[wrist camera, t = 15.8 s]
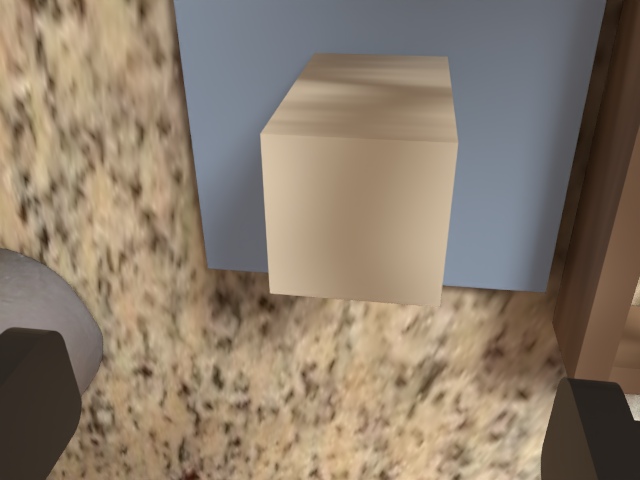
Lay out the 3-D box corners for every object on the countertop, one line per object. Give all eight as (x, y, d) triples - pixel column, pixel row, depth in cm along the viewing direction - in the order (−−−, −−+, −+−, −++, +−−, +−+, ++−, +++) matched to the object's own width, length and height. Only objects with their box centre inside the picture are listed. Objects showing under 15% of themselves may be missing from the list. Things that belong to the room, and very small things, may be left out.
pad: (214, 256, 27) (207, 268, 26) (171, -106, 20) (160, -105, 19) (541, 278, 25) (545, 292, 24) (620, -113, 18) (629, -113, 17)
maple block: (316, 173, 23) (270, 293, 16) (314, 52, 21) (260, 133, 14) (435, 179, 23) (440, 307, 16) (447, 56, 20) (458, 142, 13)
